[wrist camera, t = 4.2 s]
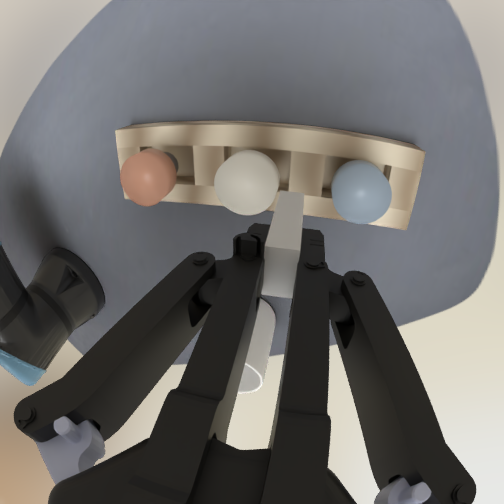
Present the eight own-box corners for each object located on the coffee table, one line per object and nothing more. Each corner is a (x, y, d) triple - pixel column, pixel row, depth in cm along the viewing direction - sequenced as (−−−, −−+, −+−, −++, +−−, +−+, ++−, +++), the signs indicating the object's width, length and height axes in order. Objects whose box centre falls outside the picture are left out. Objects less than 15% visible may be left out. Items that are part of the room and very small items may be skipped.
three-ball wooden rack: (138, 188, 31) (124, 198, 29) (130, 125, 27) (115, 130, 24) (398, 216, 27) (406, 230, 24) (414, 144, 22) (425, 151, 20)
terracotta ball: (148, 186, 27) (124, 204, 24) (143, 143, 25) (117, 155, 21) (189, 188, 27) (169, 208, 23) (186, 141, 24) (163, 153, 20)
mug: (257, 265, 34) (235, 332, 25) (283, 330, 40) (271, 394, 31) (197, 275, 37) (164, 334, 28) (230, 334, 43) (210, 392, 34)
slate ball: (326, 198, 25) (328, 219, 22) (332, 149, 23) (336, 161, 19) (374, 205, 25) (384, 228, 21) (384, 157, 22) (397, 172, 18)
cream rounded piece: (230, 191, 26) (215, 212, 22) (229, 142, 23) (213, 154, 20) (281, 196, 25) (274, 218, 22) (284, 145, 23) (278, 158, 19)
